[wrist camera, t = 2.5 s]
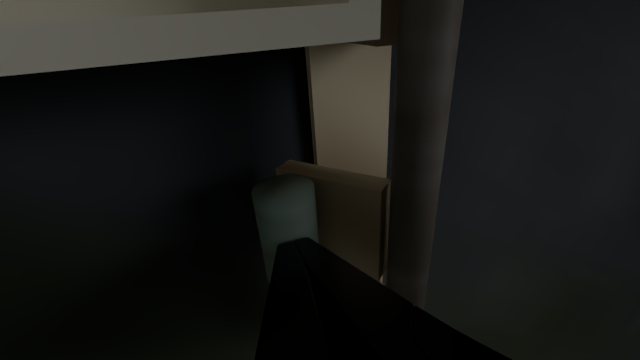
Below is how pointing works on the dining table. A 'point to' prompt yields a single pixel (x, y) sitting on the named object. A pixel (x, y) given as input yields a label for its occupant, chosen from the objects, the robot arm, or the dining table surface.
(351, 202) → the lever
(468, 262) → the dining table surface
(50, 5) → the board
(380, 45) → the catapult stand
